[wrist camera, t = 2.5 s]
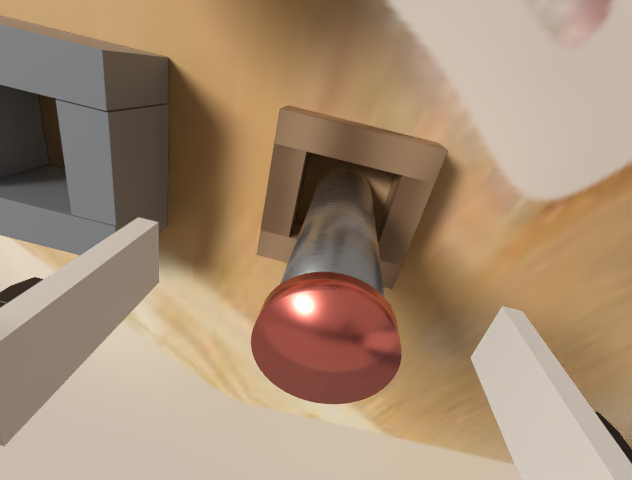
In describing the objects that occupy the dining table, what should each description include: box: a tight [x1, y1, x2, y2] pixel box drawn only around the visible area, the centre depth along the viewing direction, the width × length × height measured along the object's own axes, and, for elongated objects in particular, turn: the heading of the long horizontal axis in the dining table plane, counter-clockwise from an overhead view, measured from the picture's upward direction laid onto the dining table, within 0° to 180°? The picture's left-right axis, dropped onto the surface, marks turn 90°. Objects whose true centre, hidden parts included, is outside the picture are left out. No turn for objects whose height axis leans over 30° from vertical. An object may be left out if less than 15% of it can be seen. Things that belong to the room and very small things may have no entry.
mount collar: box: [257, 106, 448, 289], centre depth 22 cm, size 10×10×2 cm
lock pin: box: [251, 168, 401, 404], centre depth 17 cm, size 5×5×15 cm
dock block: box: [0, 16, 169, 255], centre depth 21 cm, size 12×12×6 cm
